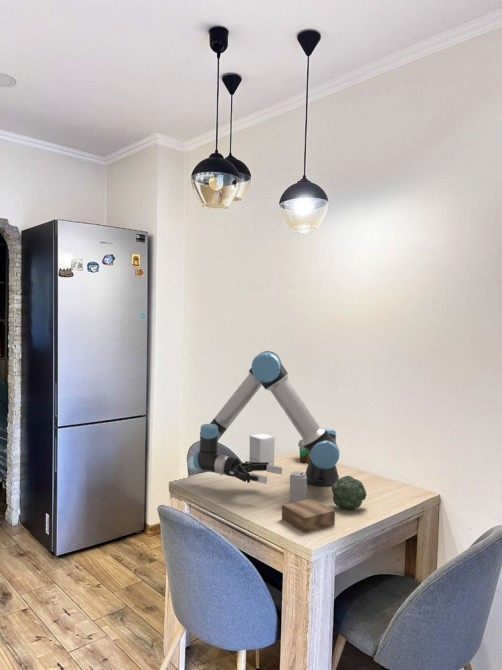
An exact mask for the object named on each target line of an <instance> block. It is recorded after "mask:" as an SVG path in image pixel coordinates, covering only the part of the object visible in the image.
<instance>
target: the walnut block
mask: <svg viewBox="0 0 502 670" xmlns="http://www.w3.org/2000/svg"><path fill="white" fill-rule="evenodd" d="M281 520H283V521H284V522H286V523H288V524H289V525H291V526H292V527H294V528H295V529H297V530H299V531H301V532H302V533H304V534H306V533H310V532H313V531H317V530H318V531H319V530H322V529H325V527H326V528H329V527H332V526H335V525H336V524H335V523H336V511H335V509H333V508H330V506H326V505H324V504H323V503H321V502H319V501H318V500H315V499H313V498H308V499H307V498H306V500H302V501H298V502H293V503H290V502H289V503H286V504H281Z"/></svg>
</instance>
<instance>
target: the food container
mask: <svg viewBox="0 0 502 670" xmlns="http://www.w3.org/2000/svg"><path fill="white" fill-rule="evenodd" d="M302 442H303V438H302V439H299V441H298V443H297V446H298V447H299V449H298V450H299V461H300V463H302V464H305V463H307V464H306V465H308V463H309V454H308V452H307V451H306V449H305V448H304V446H303V445H302Z"/></svg>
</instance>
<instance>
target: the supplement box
mask: <svg viewBox="0 0 502 670" xmlns="http://www.w3.org/2000/svg"><path fill="white" fill-rule="evenodd" d="M275 438H276V437H275V436H272V435H269V434H266V433H257V434H251V435H249V458H248V459H249V461H248V462H264V463H266V462H268V463H269V465H272V466H275V444H276V443H275V440H276V439H275Z"/></svg>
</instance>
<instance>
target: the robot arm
mask: <svg viewBox="0 0 502 670" xmlns="http://www.w3.org/2000/svg"><path fill="white" fill-rule="evenodd" d="M278 355H279V354H277V353H275V352H274V351H269V350H265V351H262V352H260V353H259V354H257V355H256V356H255V357H254V358H253V359H252V362H251V367H250V369H249V370H248V375H247V376H246V377H245V378H244V380H243V381H242V382H241V384H240V385H239V386H238V388H237V389H236V390H235V391H234V392H233V394H232V395H231V396H230V398H229V399H228V400H227V401H226V403H225V404H224V405H223V407H222V408H221V409H220V411H218V413H217V414H216V416H214V418H213V419H212V420H211V421H210V423H204V424H201V426H200V432H199V451H196V452H195V454H194V456H193V459H192V464H193V466H194V468H195V469H197V470H200V471H203V472H210V473H215V474H220V476H223V475H224V476H229V477H234V478H236V479H238V480H239V481H242V482H245V483H251V482H254V483H255V482H256V483H260V484H267V481H268V477H267V475H263V474H258V473H254V472H263V471H264V472H265V471H266V472H267V473H272V474H277V475H282V474H283V473H282V472H283V467H282V466H276V465H274V466H272V465H269V463H268V462H266V463H264V462H249V461H248V460H246V461H245V462H241V461H240V460H239V458H238V457H233V456H228V455H224V454H218V447H219V446H218V444H219V440H220V439H221V438H222V436H223V435H224V434H225V432H226V431H227V430H228V428H229V427H230V426H231V424H232V423H234V421H235V420H236V418H238V416H239V415H240V413H242V411H243V409H245V407H246V406H247V405H248V403H250V401H251V400H252V399H253V397H254V396H255V394H256V393H258V391H259V390H260V388H261V387H263V389H264V390H267V391H270V392H271V394H272V395H273V396H274V399H276V401H277V403H278V405H280V407H281V408H282V411H284V414H286V416H287V418H288V420H290V422H291V424H292V425H293V427H294V428H295V429H296V431H297V432H298V434H299V435H300V437H301V438H302V439H303V442H302V445H303V446H304V448H305V449H306V451H307V452H308V454H309V463H308V464H307V466H306V470H305V473H306V476H307V484H309V485H314V486H317V487H318V486H319V487H330V486H331V487H332V486H333V484H335V483H337V482H338V480H339V479H340V475H339V473H338V469H337V465H336V464H338V462H339V459H340V450H339V447H338V444H337V439H336V438H337V431H336V429H332V428H325V427H321V426H320V425H319V424H318V422H317V421H316V419H315V418H314V416H313V415H312V413H311V412H310V410H309V409H308V407H307V405H306V404H305V403H304V401H303V400H302V398H301V397H300V395H299V394H298V393H297V391H296V390H295V388H294V387H293V385H292V384H291V382H290V380H289V378H288V377H289V372H288V371H287V370H286V368H285V366H284V365H283V364H282V361H281V358H280V356H278ZM252 472H253V473H252Z"/></svg>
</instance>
